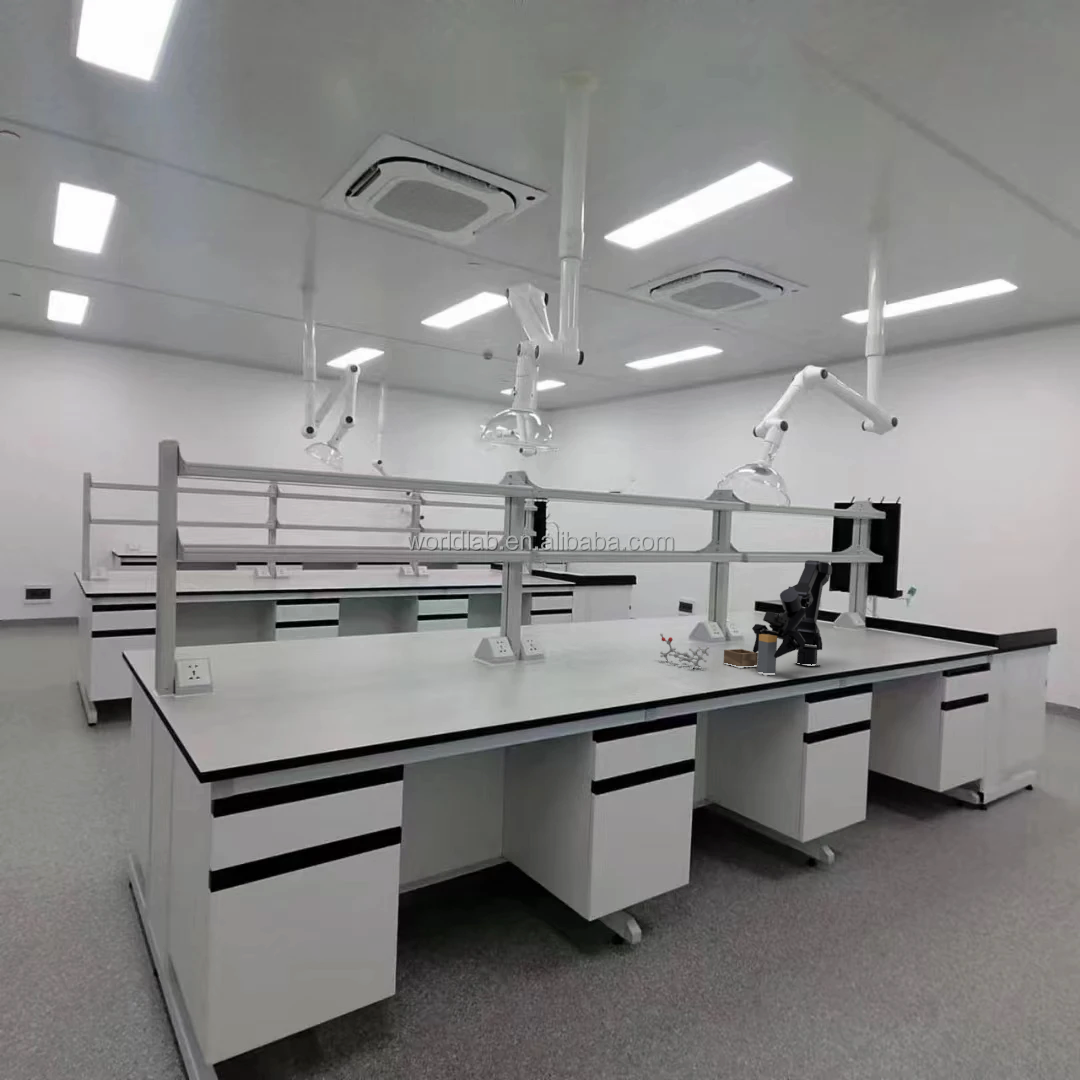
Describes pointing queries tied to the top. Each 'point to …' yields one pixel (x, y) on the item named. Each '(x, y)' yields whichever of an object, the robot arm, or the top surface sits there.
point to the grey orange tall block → (767, 653)
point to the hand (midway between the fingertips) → (764, 654)
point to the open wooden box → (740, 657)
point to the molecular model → (689, 658)
